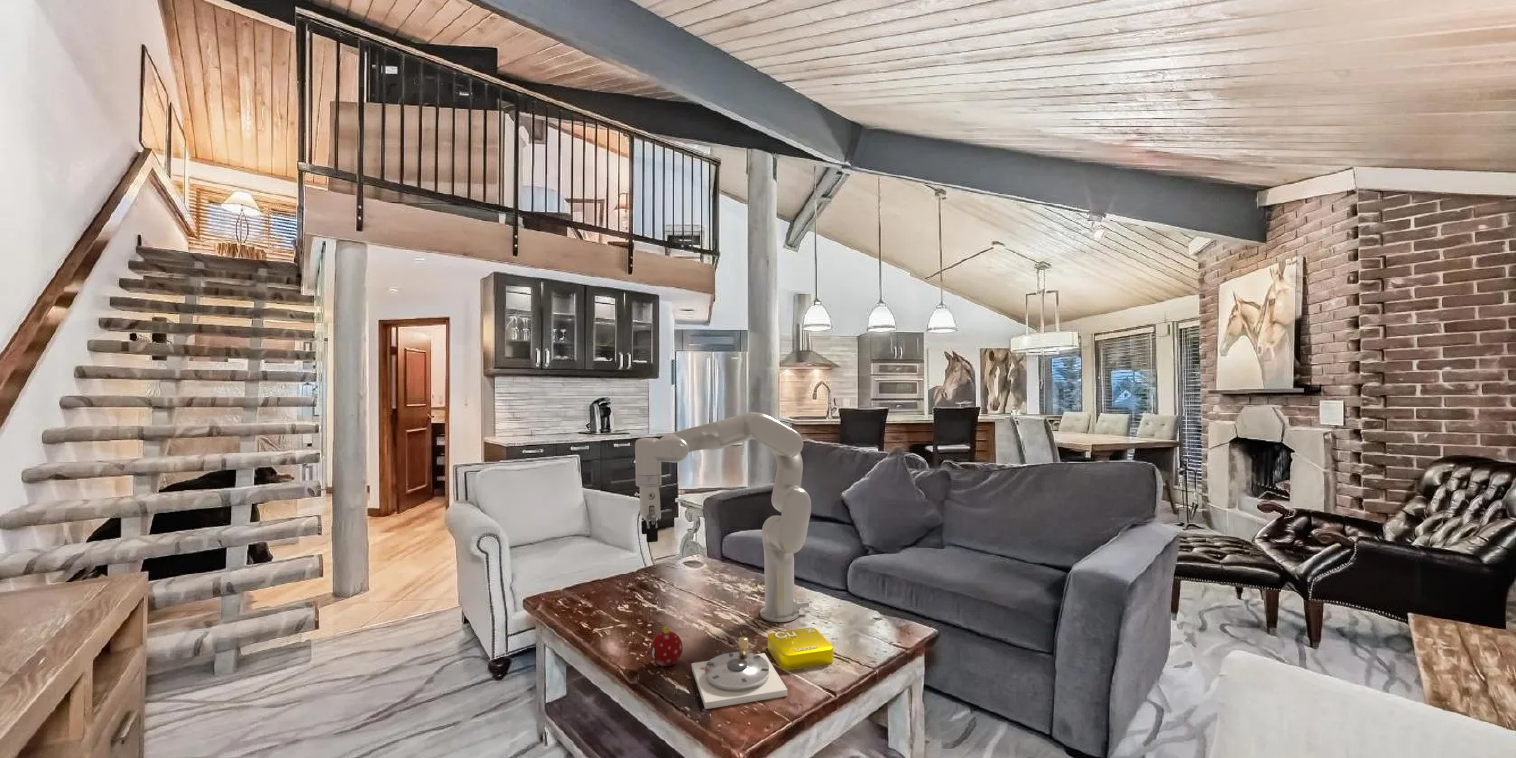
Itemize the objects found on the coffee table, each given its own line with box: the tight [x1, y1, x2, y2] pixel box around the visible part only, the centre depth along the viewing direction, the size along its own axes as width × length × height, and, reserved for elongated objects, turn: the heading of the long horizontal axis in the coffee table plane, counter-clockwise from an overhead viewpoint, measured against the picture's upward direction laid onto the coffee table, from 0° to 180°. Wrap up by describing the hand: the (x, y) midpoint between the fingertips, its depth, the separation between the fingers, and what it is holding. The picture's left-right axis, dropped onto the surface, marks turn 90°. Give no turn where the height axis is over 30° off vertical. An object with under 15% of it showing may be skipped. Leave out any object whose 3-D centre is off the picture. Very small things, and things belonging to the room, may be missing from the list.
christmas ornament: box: [649, 626, 684, 667], centre depth 160 cm, size 9×9×10 cm
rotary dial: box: [705, 636, 769, 691], centre depth 150 cm, size 16×16×6 cm
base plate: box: [690, 652, 789, 710], centre depth 150 cm, size 20×20×2 cm
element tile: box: [767, 627, 834, 671], centre depth 165 cm, size 15×15×5 cm
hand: (649, 537), depth 177 cm, fingers open, 9 cm apart
